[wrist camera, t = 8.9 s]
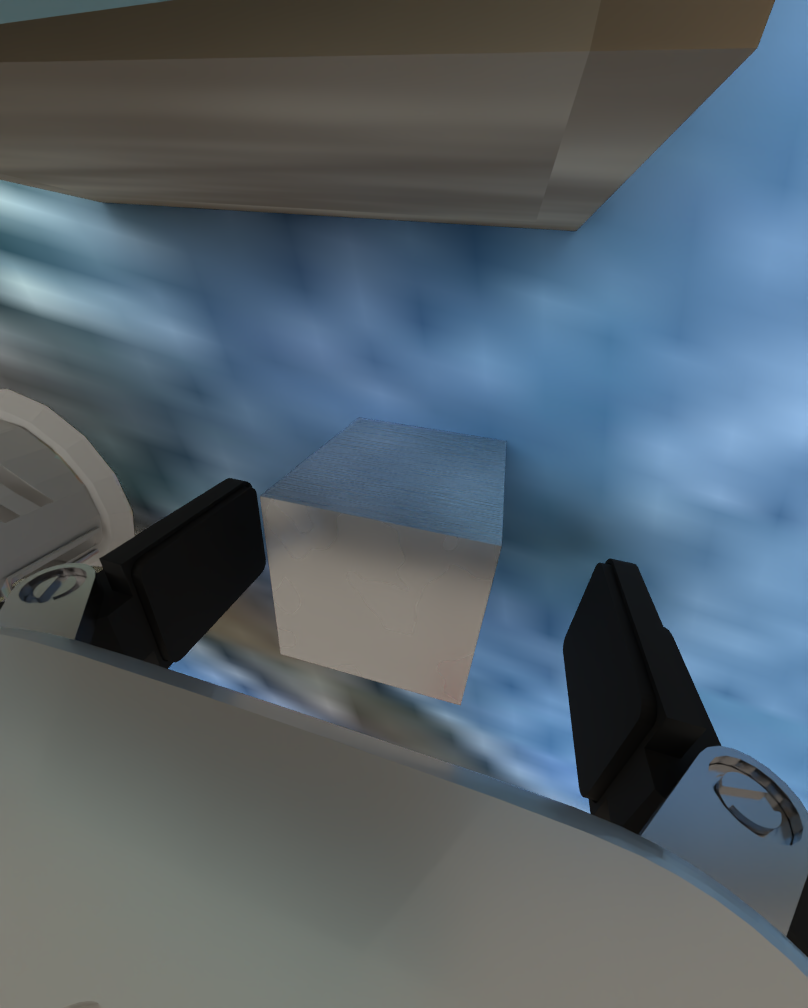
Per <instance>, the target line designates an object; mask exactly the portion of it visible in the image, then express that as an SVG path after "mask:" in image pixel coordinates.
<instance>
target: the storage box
mask: <svg viewBox="0 0 808 1008" xmlns="http://www.w3.org/2000/svg"><path fill="white" fill-rule="evenodd" d="M774 2H775V0H171V1H163V2H156V3H149V4H141V5H134V6H127V7H120V8H112V9H105V10H98V11H91V12H83V13H76V14H69V15H61V16H54V17H47V18H40V19H32V20H25V21H18V22H10V23H3V24H0V180H4V181H9V182H13V183H18V184H22V185H27V186H31V187H36V188H40V189H44V190H49V191H53V192H58V193H62V194H67V195H71V196H76V197H80V198H84V199H89V200H93V201H98V202H106V203H122V204H139V205H155V206H172V207H188V208H204V209H221V210H237V211H254V212H270V213H287V214H303V215H320V216H336V217H352V218H369V219H385V220H402V221H418V222H435V223H451V224H468V225H484V226H500V227H517V228H533V229H550V230H566V231H577V230H578V229H579V228H580V227H581V226H582V225H583V224H584V223H585V222H586V221H587V220H588V219H589V218H590V217H591V216H592V215H593V213H594V212H595V211H596V210H597V209H598V208H599V207H600V206H601V205H602V204H603V203H604V202H605V201H606V200H607V199H608V198H609V197H610V196H611V195H612V194H613V193H614V192H615V191H616V190H617V189H618V188H619V187H620V186H621V185H622V184H623V183H624V182H625V181H626V180H627V179H628V178H629V177H630V176H631V175H632V174H633V173H634V172H635V171H636V170H637V169H638V168H639V167H640V166H641V165H642V164H643V163H644V162H645V161H646V160H647V159H648V158H649V157H650V156H651V155H652V154H653V153H654V152H655V151H656V150H657V149H658V148H659V147H660V146H661V145H662V144H663V143H664V142H665V141H666V140H667V139H668V138H669V137H670V136H671V135H672V134H673V133H674V132H675V131H676V130H677V129H678V128H679V127H680V126H681V125H682V124H683V123H684V122H685V121H686V120H687V119H688V118H689V117H690V116H691V114H692V113H693V112H694V111H695V110H696V109H697V108H698V107H699V106H700V105H701V104H702V103H703V102H704V101H705V100H706V99H707V98H708V97H709V96H710V95H711V94H712V93H713V92H714V91H715V90H716V89H717V88H718V87H719V86H720V85H721V84H722V83H723V82H724V81H725V80H726V79H727V78H728V77H729V76H730V75H731V74H732V73H733V72H734V71H735V70H736V69H737V68H738V67H739V66H740V65H741V64H742V63H743V62H744V61H745V60H746V59H747V58H748V57H749V56H750V55H751V54H752V53H753V52H754V51H755V50H756V49H757V47H758V45H759V42H760V39H761V37H762V34H763V31H764V29H765V26H766V23H767V21H768V18H769V15H770V13H771V10H772V7H773V5H774Z"/></svg>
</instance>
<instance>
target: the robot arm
mask: <svg viewBox="0 0 808 1008" xmlns="http://www.w3.org/2000/svg"><path fill="white" fill-rule="evenodd" d="M99 560H100V562H101V564H102V567H103V570H102V571H100V572H99V573H97V574H96V571H95V570H94V569H93V567H92V566H89V565H87V564H82V563H69V564H61V565H57V566H53V567H49V568H47V569H44V570H41V571H39V572H36V573H35V574H33V575H31V576H29V577H27V578H25V579H24V580H23V581H21V582H20V583H19V584H17V585H16V586H15V587H14V589H13V590H12V591H11V592H10V594H9V596H8V597H7V599H6V601H4V602H0V1008H808V812H807V810H806V809H805V807H804V805H803V804H802V802H801V801H800V799H799V798H798V797H797V796H796V795H795V793H794V792H793V791H792V790H791V789H790V788H789V787H788V785H787V784H786V783H785V782H784V781H783V780H781V779H780V778H779V777H778V776H777V775H776V774H775V773H773V772H772V771H771V770H770V769H769V768H768V767H766V766H764V765H763V764H761V763H760V762H758V761H757V760H755V759H754V758H752V757H751V756H749V755H746V754H744V753H742V752H740V751H738V750H735V749H732V748H727V747H723V746H721V744H720V742H719V740H718V737H717V735H716V733H715V731H714V728H713V726H712V724H711V721H710V719H709V717H708V715H707V712H706V710H705V708H704V706H703V703H702V701H701V699H700V697H699V694H698V692H697V690H696V688H695V685H694V683H693V681H692V679H691V676H690V674H689V672H688V670H687V667H686V665H685V663H684V661H683V658H682V656H681V654H680V652H679V649H678V647H677V645H676V643H675V640H674V638H673V636H672V634H671V633H670V631H669V630H668V629H666V628H665V627H663V625H662V623H661V620H660V618H659V615H658V613H657V611H656V608H655V606H654V604H653V601H652V599H651V597H650V594H649V592H648V590H647V587H646V585H645V583H644V580H643V578H642V576H641V573H640V571H639V569H638V567H637V565H636V564H633V563H628V562H623V561H619V560H614V559H608V560H607V561H606V562H605V564H604V563H598V564H597V565H596V567H595V569H594V572H593V574H592V576H591V579H590V581H589V583H588V585H587V588H586V590H585V592H584V595H583V597H582V599H581V602H580V604H579V606H578V609H577V611H576V613H575V615H574V618H573V620H572V622H571V625H570V627H569V629H568V632H567V634H566V636H565V639H564V644H563V655H564V663H565V672H566V680H567V689H568V697H569V706H570V714H571V723H572V731H573V740H574V748H575V757H576V765H577V774H578V782H579V789H580V793H581V795H582V796H583V797H585V798H588V799H589V805H590V812H591V814H589V813H587V812H584V811H582V810H579V809H577V808H575V807H572V806H569V805H566V804H564V803H561V802H558V801H555V800H552V799H550V798H547V797H544V796H541V795H539V794H536V793H533V792H530V791H527V790H525V789H522V788H519V787H516V786H513V785H511V784H508V783H505V782H502V781H499V780H497V779H494V778H491V777H488V776H486V775H483V774H480V773H477V772H474V771H471V770H468V769H465V768H462V767H459V766H456V765H453V764H450V763H447V762H444V761H442V760H439V759H436V758H433V757H430V756H427V755H424V754H421V753H418V752H415V751H412V750H409V749H406V748H403V747H400V746H397V745H394V744H391V743H389V742H386V741H383V740H380V739H377V738H374V737H371V736H368V735H365V734H362V733H359V732H356V731H353V730H350V729H347V728H344V727H341V726H338V725H335V724H332V723H329V722H326V721H323V720H320V719H317V718H314V717H311V716H308V715H305V714H302V713H299V712H296V711H293V710H290V709H287V708H284V707H281V706H278V705H275V704H272V703H269V702H266V701H263V700H260V699H257V698H254V697H251V696H248V695H245V694H242V693H239V692H236V691H233V690H230V689H227V688H224V687H221V686H218V685H215V684H212V683H209V682H206V681H203V680H200V679H197V678H194V677H191V676H188V675H185V674H181V673H178V672H175V671H172V670H169V669H168V668H169V667H170V665H171V664H172V663H173V662H177V661H179V660H181V659H182V658H183V657H184V656H185V655H186V654H187V653H188V652H189V650H190V649H191V648H192V647H193V646H194V645H195V644H196V643H197V642H198V641H199V640H200V639H201V638H202V637H203V635H204V634H205V633H206V632H207V631H208V630H209V629H210V628H211V627H212V626H213V625H214V624H215V623H216V622H217V620H218V619H219V618H220V617H221V616H222V615H223V614H224V613H225V612H226V611H227V610H228V609H229V608H230V606H231V605H232V604H233V603H234V602H235V601H236V600H237V599H238V598H239V597H240V596H241V595H242V594H243V593H244V591H245V590H246V589H247V588H248V587H249V586H250V585H251V584H252V583H253V582H254V581H255V580H256V579H257V577H258V576H259V575H260V574H261V573H262V572H263V570H264V568H265V564H266V559H265V552H264V544H263V537H262V530H261V522H260V515H259V508H258V500H257V493H256V490H255V489H254V488H252V485H251V484H250V483H249V482H246V481H242V480H237V479H232V478H228V479H226V480H224V481H222V482H221V483H219V484H218V485H216V486H214V487H213V488H211V489H210V490H208V491H206V492H205V493H203V494H202V495H200V496H198V497H197V498H195V499H194V500H192V501H190V502H189V503H187V504H186V505H184V506H182V507H181V508H179V509H178V510H176V511H174V512H173V513H171V514H170V515H168V516H166V517H165V518H163V519H162V520H160V521H158V522H157V523H155V524H154V525H152V526H150V527H149V528H147V529H146V530H144V531H142V532H141V533H139V534H138V535H136V536H134V537H133V538H131V539H130V540H128V541H126V542H125V543H123V544H122V545H120V546H119V547H117V548H115V549H114V550H112V551H111V552H109V553H107V554H106V555H104V556H103V557H101V558H99Z"/></svg>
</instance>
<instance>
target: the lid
mask: <svg viewBox="0 0 808 1008" xmlns="http://www.w3.org/2000/svg"><path fill="white" fill-rule="evenodd" d="M163 1H171V0H0V24H3V23H10V22H18V21H25V20H32V19H40V18H47V17H54V16H61V15H69V14H76V13H83V12H91V11H98V10H105V9H112V8H120V7H127V6H134V5H141V4H149V3H156V2H163Z"/></svg>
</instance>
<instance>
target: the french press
mask: <svg viewBox="0 0 808 1008" xmlns="http://www.w3.org/2000/svg"><path fill="white" fill-rule="evenodd" d="M134 536H135V534H134V523H133V512H132V509H131V507H130V505H129V503H128V500H127V498H126V496H125V494H124V492H123V490H122V488H121V485H120V483H119V481H118V479H117V477H116V475H115V473H114V472H113V471H112V470H111V468H110V467H109V466H108V465H107V463H106V462H105V461H104V460H103V458H102V457H101V456H100V455H99V453H98V452H97V451H96V450H95V448H94V447H93V446H92V445H91V443H90V442H89V441H88V440H87V438H86V437H85V436H84V435H82V434H81V433H80V432H79V431H77V430H76V429H75V428H74V427H72V426H71V425H70V424H69V423H67V422H66V421H65V420H64V419H62V418H61V417H60V416H59V415H57V414H56V413H55V412H54V411H52V410H51V409H50V408H49V407H47V406H46V405H43V404H41V403H39V402H36V401H34V400H32V399H30V398H27V397H25V396H23V395H20V394H18V393H16V392H14V391H11V390H9V389H0V597H4V599H5V600H3V601H2V602H4V601H6V599H7V597H8V596H9V594H10V592H11V591H12V590H13V589H14V587H13V586H12V584H13V583H14V582H15V581H17V580H19V579H25V578H27V577H29V576H31V575H33V574H35V573H36V572H39V571H41V570H44V569H47V568H49V567H53V566H57V565H61V564H69V563H82V564H87V565H89V566H100V567H102V564H101V562H100V560H99V558H101V557H103V556H104V555H106V554H107V553H109V552H111V551H112V550H114V549H115V548H117V547H119V546H120V545H122V544H123V543H125V542H126V541H128V540H130V539H131V538H133V537H134Z"/></svg>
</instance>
